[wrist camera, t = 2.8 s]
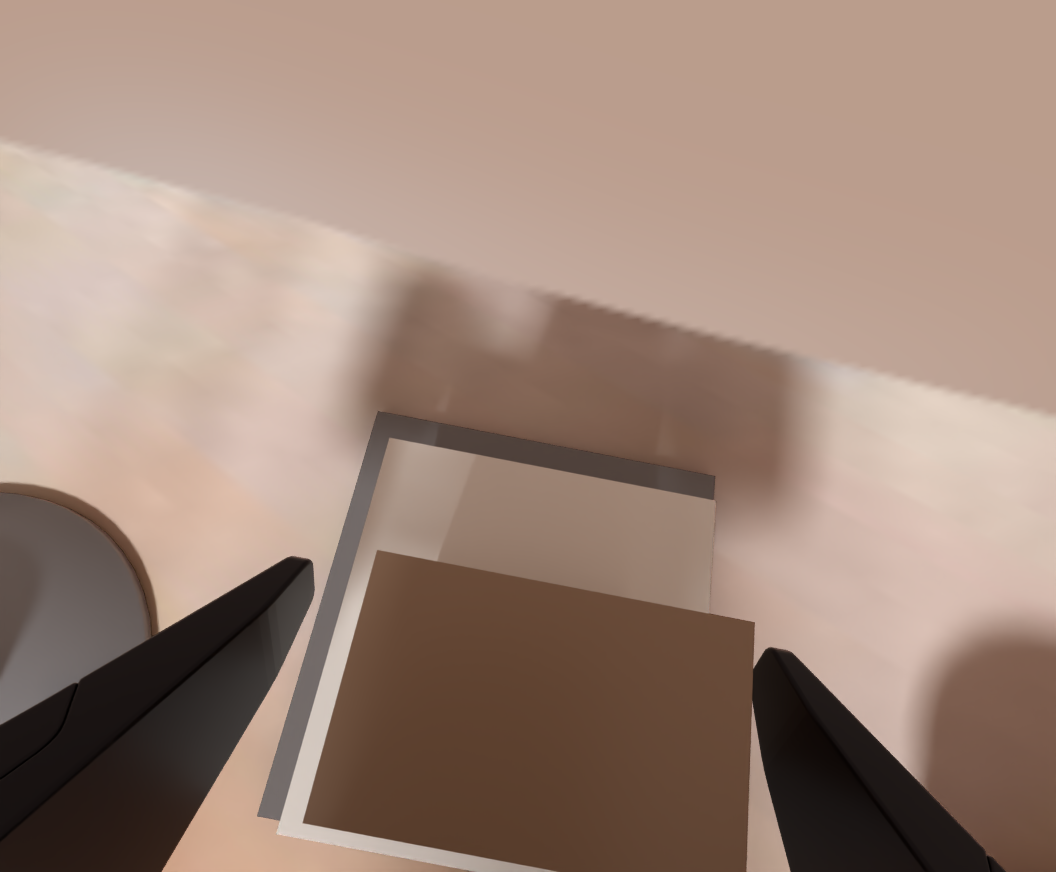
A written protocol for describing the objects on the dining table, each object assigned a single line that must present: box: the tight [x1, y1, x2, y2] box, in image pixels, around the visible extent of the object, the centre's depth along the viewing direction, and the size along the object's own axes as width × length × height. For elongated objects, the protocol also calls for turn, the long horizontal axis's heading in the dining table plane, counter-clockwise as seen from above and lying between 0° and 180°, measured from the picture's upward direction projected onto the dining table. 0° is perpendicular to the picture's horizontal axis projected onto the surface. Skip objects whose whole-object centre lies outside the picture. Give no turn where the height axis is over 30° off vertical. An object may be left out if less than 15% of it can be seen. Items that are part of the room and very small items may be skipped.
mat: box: [257, 411, 715, 821], centre depth 17 cm, size 14×14×1 cm
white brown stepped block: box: [276, 438, 755, 872], centre depth 11 cm, size 9×9×12 cm
